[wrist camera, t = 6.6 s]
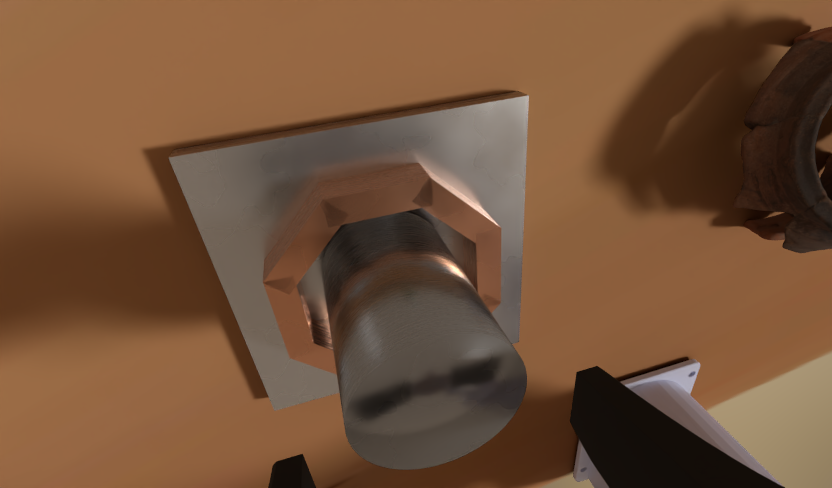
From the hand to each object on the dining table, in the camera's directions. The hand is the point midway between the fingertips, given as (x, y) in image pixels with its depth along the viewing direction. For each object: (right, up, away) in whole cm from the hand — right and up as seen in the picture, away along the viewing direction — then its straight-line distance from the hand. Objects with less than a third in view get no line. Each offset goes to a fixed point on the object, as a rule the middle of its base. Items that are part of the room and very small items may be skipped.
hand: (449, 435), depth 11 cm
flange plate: (-2, +4, +7) cm, 8 cm away
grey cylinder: (-2, +4, +6) cm, 8 cm away
